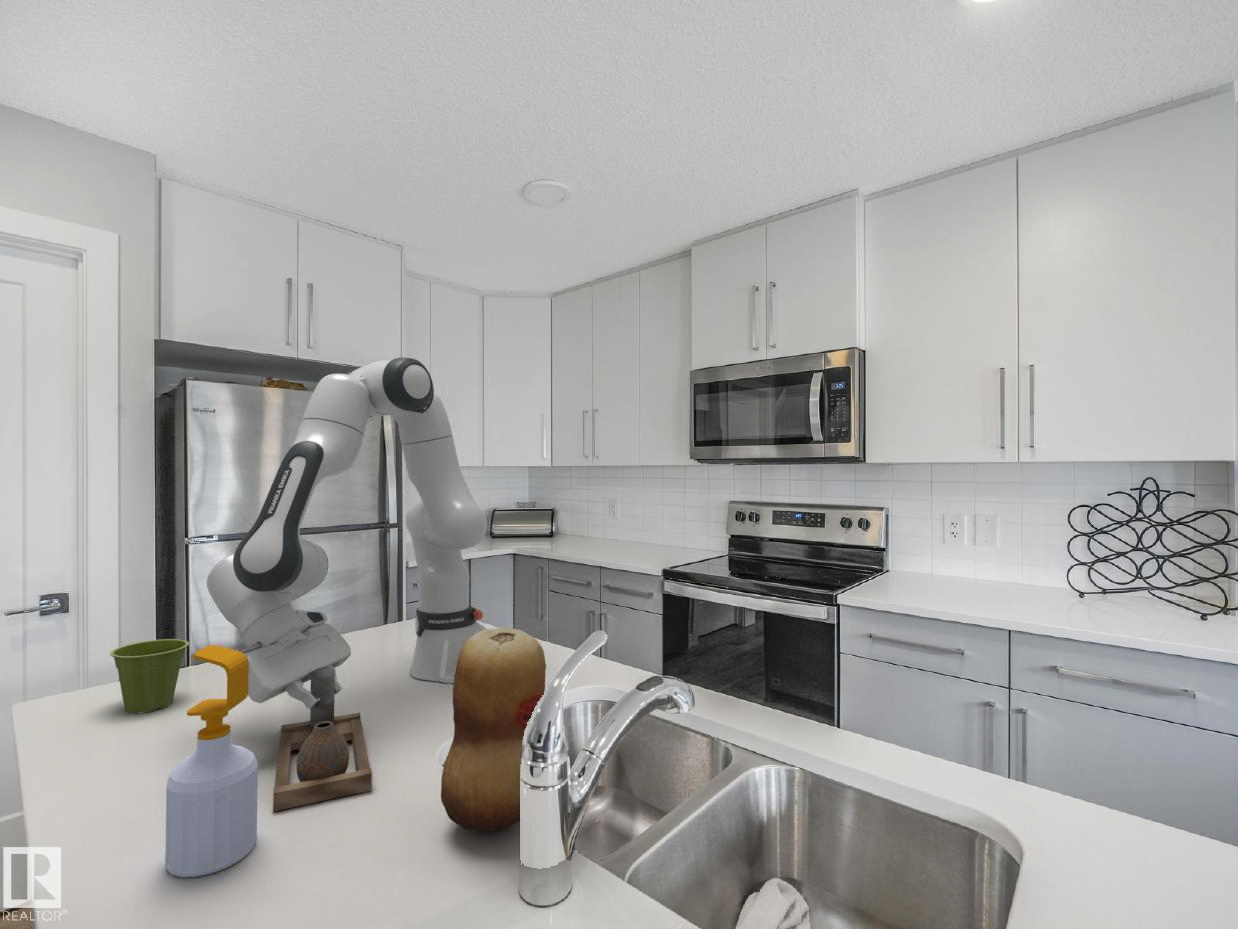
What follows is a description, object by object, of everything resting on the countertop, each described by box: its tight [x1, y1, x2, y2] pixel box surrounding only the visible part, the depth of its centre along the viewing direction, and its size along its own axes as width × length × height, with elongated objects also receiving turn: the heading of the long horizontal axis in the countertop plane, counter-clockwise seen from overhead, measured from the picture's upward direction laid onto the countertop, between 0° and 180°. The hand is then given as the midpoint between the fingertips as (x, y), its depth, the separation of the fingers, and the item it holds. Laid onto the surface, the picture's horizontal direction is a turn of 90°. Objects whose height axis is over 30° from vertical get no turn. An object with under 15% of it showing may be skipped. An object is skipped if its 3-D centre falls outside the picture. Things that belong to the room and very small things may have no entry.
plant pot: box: [109, 638, 190, 714], centre depth 114 cm, size 12×12×11 cm
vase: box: [295, 721, 350, 783], centre depth 87 cm, size 7×7×9 cm
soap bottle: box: [164, 644, 259, 878], centre depth 72 cm, size 9×9×25 cm
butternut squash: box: [440, 626, 547, 832], centre depth 79 cm, size 14×13×25 cm
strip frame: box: [272, 667, 373, 812], centre depth 93 cm, size 12×23×12 cm, turn 27°
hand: (326, 698), depth 101 cm, fingers open, 4 cm apart
